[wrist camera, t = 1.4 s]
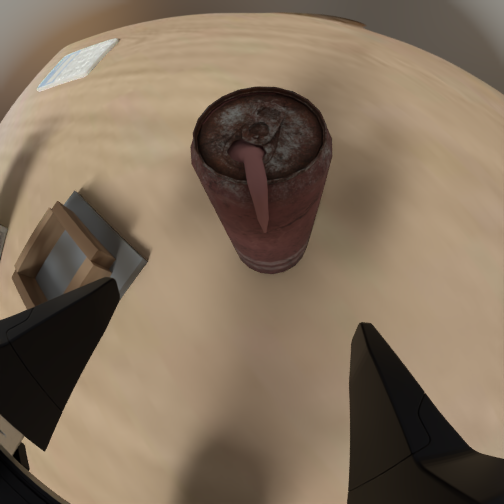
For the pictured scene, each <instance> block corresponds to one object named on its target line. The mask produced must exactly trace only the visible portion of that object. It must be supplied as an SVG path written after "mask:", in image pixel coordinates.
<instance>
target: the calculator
mask: <svg viewBox="0 0 504 504" xmlns="http://www.w3.org/2000/svg"><path fill="white" fill-rule="evenodd" d="M118 42H119V40H118V39H117V38H115V39H111V40H108V41H104V42H101V43H98V44H95V45H92V46H89V47H86V48H84V49H81V50H78V51H76V52H73V53H71V54H68V55H66V56H65V57H64V58H63V59H62V60H61V61H60V62H59V63H58V64H57V65H56V66H55V67H54V68H53V69H52V71H51V72H50V73H49V74H48V75H47V76H46V77H45V79H44V80H43V81H42V82H41V83H40V85H39V86H38V87H37V90H38V91H39V92H40V91H43V90H46V89H48V88H51V87H54V86H57V85H60V84H63V83H66V82H69V81H73V80H76V79H79V78H83V77H85V76H87V75H88V74H89V73H90V72H91V71H92V70H93V69H94V68H95V66H96V65H97V64H98V63H99V62H100V61H101V60H102V59H103V58H104V57H105V56H106V54H107V53H108V52H109V51H110V50H111V49H112V48H113V47H114V46H115V45H116V44H117V43H118Z"/></svg>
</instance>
